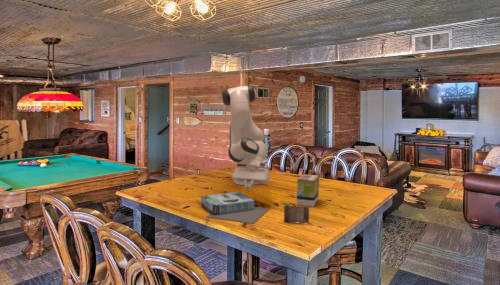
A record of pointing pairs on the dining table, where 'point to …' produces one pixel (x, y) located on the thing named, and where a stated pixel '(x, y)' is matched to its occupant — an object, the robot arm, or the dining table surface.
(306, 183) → the tea box
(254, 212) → the mat
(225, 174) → the dining table surface
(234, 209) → the gum box
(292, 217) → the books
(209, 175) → the dining table surface
